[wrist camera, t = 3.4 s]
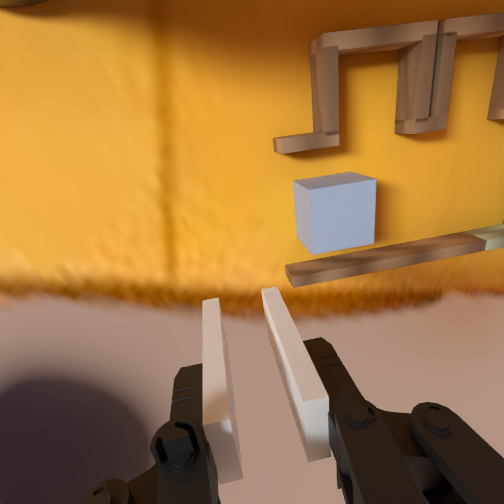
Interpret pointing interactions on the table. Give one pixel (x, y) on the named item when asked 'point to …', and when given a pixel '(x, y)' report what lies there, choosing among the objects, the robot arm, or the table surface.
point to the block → (335, 211)
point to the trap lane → (397, 125)
